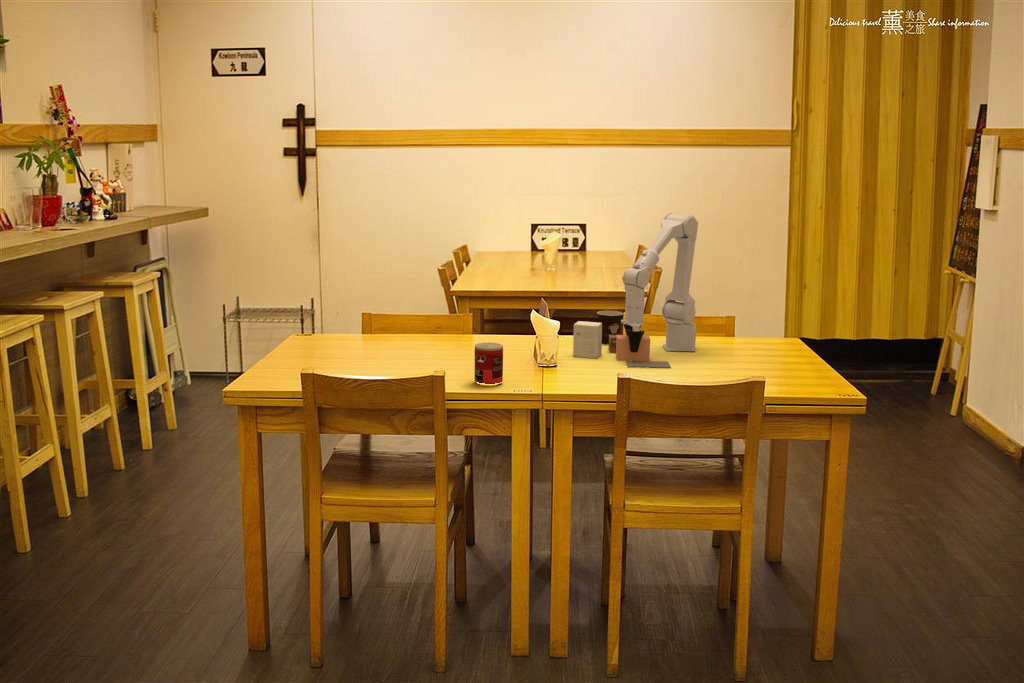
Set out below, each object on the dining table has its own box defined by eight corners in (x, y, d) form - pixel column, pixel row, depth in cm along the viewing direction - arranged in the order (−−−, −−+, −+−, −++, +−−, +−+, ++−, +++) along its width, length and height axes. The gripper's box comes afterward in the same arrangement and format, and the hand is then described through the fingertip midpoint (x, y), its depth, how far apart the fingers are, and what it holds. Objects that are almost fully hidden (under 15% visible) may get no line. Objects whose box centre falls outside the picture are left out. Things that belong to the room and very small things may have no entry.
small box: (601, 355, 329) (602, 322, 327) (597, 358, 324) (598, 325, 322) (577, 352, 332) (578, 320, 330) (572, 356, 327) (573, 323, 324)
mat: (667, 362, 321) (667, 361, 320) (671, 368, 314) (671, 366, 314) (625, 361, 321) (625, 360, 321) (628, 367, 314) (628, 366, 314)
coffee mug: (621, 340, 351) (623, 311, 349) (622, 345, 343) (623, 316, 341) (587, 338, 352) (588, 310, 350) (586, 344, 344) (587, 314, 342)
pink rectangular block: (647, 357, 327) (648, 335, 326) (649, 361, 323) (650, 339, 321) (615, 357, 328) (616, 335, 326) (617, 360, 323) (618, 338, 321)
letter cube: (623, 350, 337) (624, 334, 336) (625, 353, 332) (626, 337, 331) (608, 349, 337) (609, 334, 336) (609, 353, 332) (610, 337, 331)
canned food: (473, 379, 297) (474, 342, 294) (501, 379, 297) (502, 342, 295) (475, 386, 289) (475, 348, 287) (503, 386, 290) (504, 348, 287)
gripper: (619, 302, 329) (617, 344, 331) (623, 310, 314) (622, 354, 317) (641, 302, 328) (639, 344, 331) (647, 311, 314) (645, 354, 317)
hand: (632, 349), depth 324 cm, fingers open, 7 cm apart
